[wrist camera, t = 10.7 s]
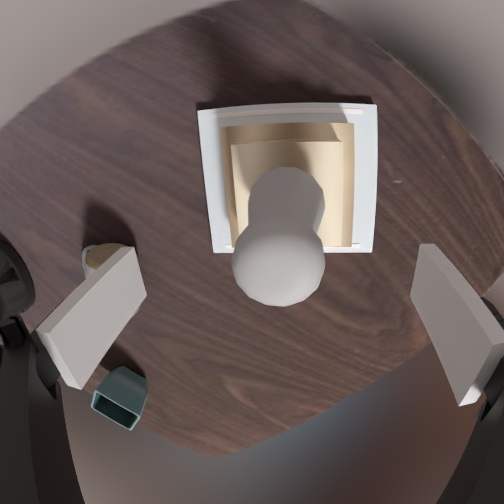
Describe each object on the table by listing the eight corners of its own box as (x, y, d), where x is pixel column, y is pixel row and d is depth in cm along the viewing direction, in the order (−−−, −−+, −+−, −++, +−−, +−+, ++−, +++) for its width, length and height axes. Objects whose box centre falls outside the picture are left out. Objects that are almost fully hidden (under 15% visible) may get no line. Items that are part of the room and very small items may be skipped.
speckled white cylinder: (148, 246, 37) (117, 275, 30) (149, 297, 40) (124, 331, 34) (85, 230, 37) (51, 253, 31) (90, 279, 41) (61, 306, 34)
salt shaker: (336, 204, 24) (367, 290, 12) (281, 241, 26) (265, 344, 15) (293, 147, 23) (290, 180, 11) (238, 188, 25) (184, 259, 13)
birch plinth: (237, 236, 33) (225, 261, 28) (227, 126, 28) (211, 128, 23) (347, 235, 31) (356, 261, 26) (348, 122, 26) (360, 124, 21)
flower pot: (146, 398, 53) (130, 431, 45) (109, 375, 52) (90, 407, 44) (158, 379, 49) (140, 417, 41) (117, 354, 48) (94, 389, 40)
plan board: (215, 249, 35) (213, 253, 34) (200, 111, 29) (197, 110, 28) (370, 248, 32) (371, 252, 32) (374, 105, 26) (376, 104, 25)
